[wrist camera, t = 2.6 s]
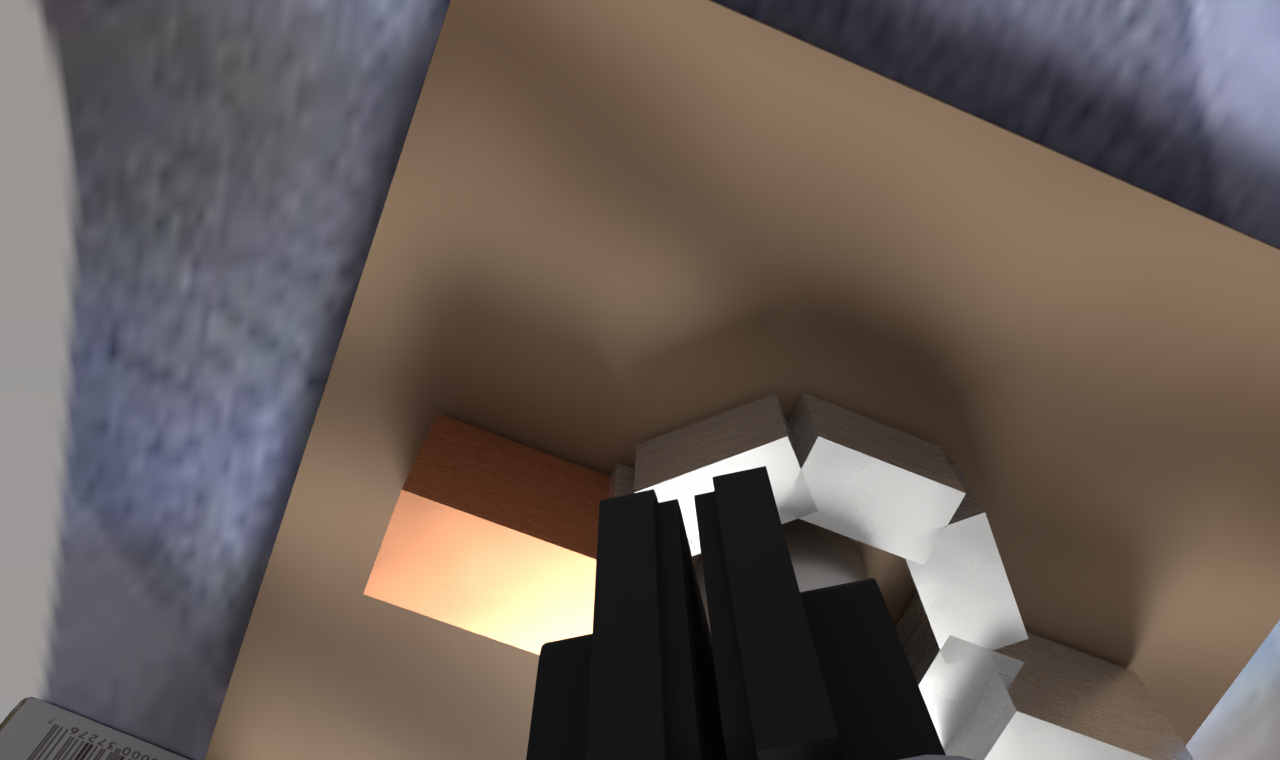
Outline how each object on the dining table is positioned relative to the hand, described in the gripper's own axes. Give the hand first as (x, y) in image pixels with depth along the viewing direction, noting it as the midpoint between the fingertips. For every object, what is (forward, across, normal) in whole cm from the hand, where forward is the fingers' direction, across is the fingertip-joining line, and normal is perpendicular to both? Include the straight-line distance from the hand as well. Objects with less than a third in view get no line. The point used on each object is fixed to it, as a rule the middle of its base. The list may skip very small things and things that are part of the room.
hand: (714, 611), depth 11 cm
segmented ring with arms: (+10, -1, +6) cm, 12 cm away
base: (+12, -1, +6) cm, 13 cm away
